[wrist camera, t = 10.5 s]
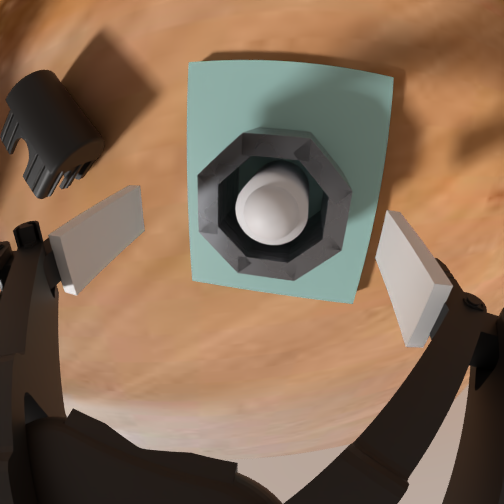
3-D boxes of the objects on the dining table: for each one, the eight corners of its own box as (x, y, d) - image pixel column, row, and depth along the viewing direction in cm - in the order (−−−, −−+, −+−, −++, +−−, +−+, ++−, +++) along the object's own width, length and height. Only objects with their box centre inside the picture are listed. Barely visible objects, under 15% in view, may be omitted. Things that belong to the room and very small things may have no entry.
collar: (222, 235, 23) (199, 267, 18) (223, 125, 19) (197, 131, 14) (330, 249, 22) (333, 286, 17) (347, 136, 18) (359, 145, 13)
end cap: (121, 133, 22) (68, 147, 16) (84, 183, 25) (36, 207, 19) (70, 67, 19) (17, 70, 14) (39, 119, 22) (-9, 132, 17)
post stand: (198, 271, 27) (160, 329, 20) (196, 64, 18) (139, 49, 11) (351, 293, 25) (359, 362, 18) (388, 79, 16) (429, 64, 9)
